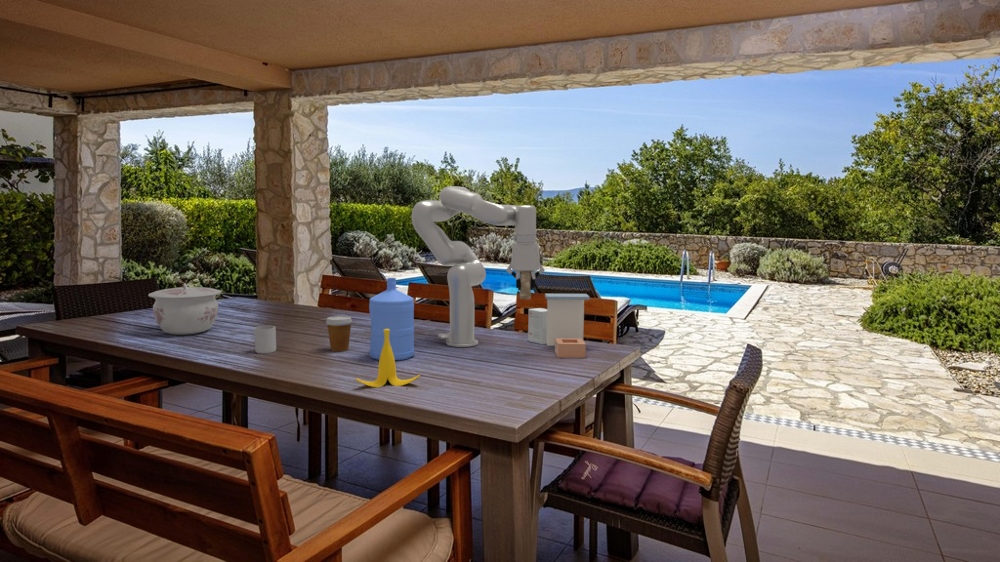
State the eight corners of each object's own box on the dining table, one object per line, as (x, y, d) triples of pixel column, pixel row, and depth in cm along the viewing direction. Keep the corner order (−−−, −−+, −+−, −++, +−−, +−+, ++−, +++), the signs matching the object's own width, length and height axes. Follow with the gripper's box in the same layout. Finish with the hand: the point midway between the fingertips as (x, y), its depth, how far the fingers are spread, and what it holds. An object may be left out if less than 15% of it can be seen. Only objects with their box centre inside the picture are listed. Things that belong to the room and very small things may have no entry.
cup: (251, 353, 229) (250, 329, 228) (264, 347, 239) (263, 324, 238) (271, 353, 228) (270, 329, 227) (282, 347, 238) (282, 324, 237)
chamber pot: (185, 341, 249) (182, 288, 246) (134, 335, 259) (131, 285, 256) (238, 328, 275) (236, 281, 272) (190, 324, 285) (187, 278, 282)
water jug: (423, 356, 227) (423, 278, 224) (387, 363, 216) (386, 282, 212) (396, 349, 238) (395, 275, 234) (361, 356, 226) (359, 278, 223)
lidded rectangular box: (545, 349, 239) (546, 296, 237) (544, 344, 247) (545, 293, 245) (588, 349, 240) (589, 296, 237) (585, 345, 248) (586, 293, 245)
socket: (557, 357, 227) (557, 343, 226) (554, 351, 237) (554, 338, 236) (585, 357, 227) (585, 344, 226) (581, 351, 237) (581, 338, 236)
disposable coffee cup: (343, 353, 230) (343, 320, 229) (321, 351, 233) (320, 319, 232) (357, 348, 239) (357, 316, 238) (335, 346, 242) (335, 315, 241)
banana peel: (354, 389, 185) (353, 333, 183) (384, 373, 203) (383, 322, 201) (405, 395, 180) (405, 337, 179) (431, 378, 199) (431, 325, 197)
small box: (553, 342, 252) (553, 310, 251) (541, 344, 248) (541, 311, 247) (539, 339, 258) (539, 307, 257) (527, 341, 254) (528, 309, 253)
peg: (520, 299, 230) (520, 266, 228) (519, 297, 234) (519, 265, 232) (531, 299, 230) (531, 266, 228) (530, 297, 234) (530, 265, 232)
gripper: (502, 240, 226) (502, 291, 228) (549, 240, 226) (549, 291, 228) (502, 239, 233) (502, 288, 235) (547, 239, 233) (547, 288, 235)
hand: (525, 289), depth 231 cm, fingers closed on peg, 4 cm apart
